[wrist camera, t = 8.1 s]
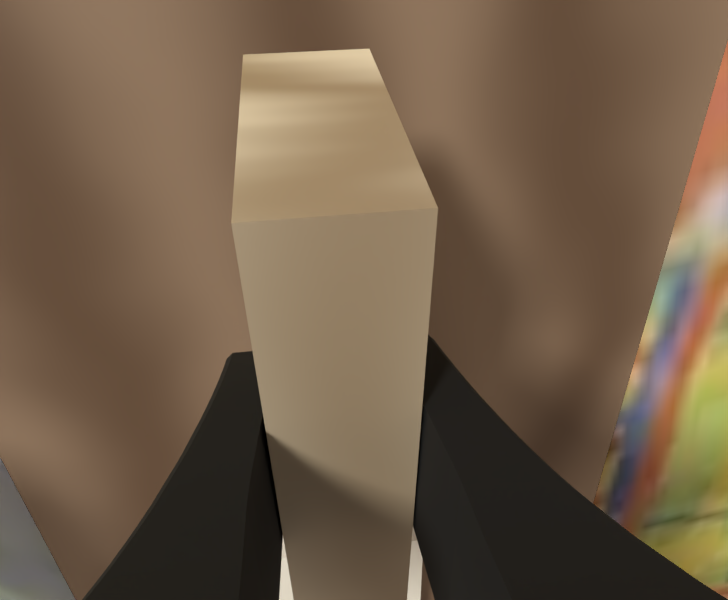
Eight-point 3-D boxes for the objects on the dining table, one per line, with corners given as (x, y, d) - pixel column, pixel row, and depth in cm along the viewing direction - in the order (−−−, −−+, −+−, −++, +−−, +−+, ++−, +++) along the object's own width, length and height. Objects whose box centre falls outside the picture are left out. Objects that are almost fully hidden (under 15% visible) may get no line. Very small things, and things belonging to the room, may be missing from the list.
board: (128, 668, 28) (124, 691, 28) (-207, -4, 12) (-240, 4, 12) (548, 607, 30) (556, 628, 29) (723, -47, 14) (751, -42, 13)
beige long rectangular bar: (295, 473, 17) (306, 677, 13) (243, 54, 10) (230, 222, 6) (369, 465, 17) (401, 663, 13) (369, 48, 10) (438, 207, 6)
